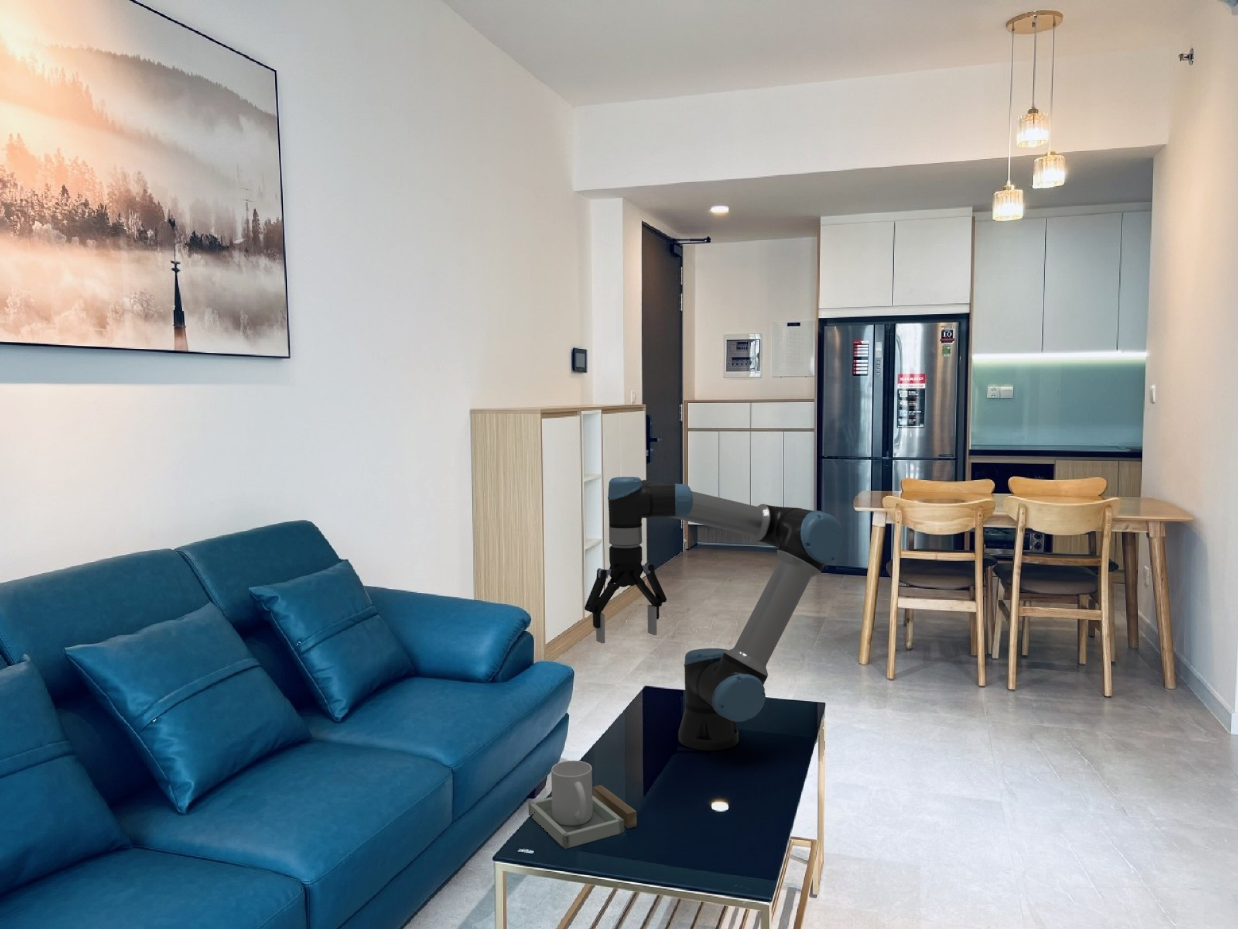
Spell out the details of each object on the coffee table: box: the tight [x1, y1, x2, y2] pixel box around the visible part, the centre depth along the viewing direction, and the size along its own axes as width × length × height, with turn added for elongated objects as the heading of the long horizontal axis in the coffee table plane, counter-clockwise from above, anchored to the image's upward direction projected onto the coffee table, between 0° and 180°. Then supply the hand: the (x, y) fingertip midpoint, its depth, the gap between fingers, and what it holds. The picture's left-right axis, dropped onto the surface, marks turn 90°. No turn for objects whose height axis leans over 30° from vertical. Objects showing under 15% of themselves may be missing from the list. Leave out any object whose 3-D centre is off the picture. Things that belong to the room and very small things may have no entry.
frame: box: [528, 794, 625, 850], centre depth 177 cm, size 13×17×2 cm
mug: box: [550, 760, 593, 826], centre depth 177 cm, size 12×8×10 cm
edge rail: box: [592, 784, 638, 829], centre depth 182 cm, size 2×15×3 cm, turn 29°
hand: (626, 638), depth 200 cm, fingers open, 13 cm apart
